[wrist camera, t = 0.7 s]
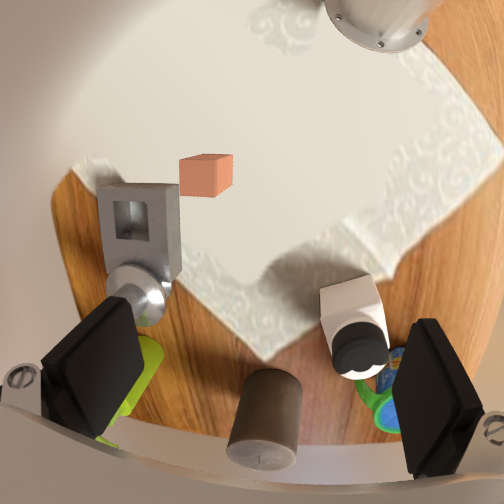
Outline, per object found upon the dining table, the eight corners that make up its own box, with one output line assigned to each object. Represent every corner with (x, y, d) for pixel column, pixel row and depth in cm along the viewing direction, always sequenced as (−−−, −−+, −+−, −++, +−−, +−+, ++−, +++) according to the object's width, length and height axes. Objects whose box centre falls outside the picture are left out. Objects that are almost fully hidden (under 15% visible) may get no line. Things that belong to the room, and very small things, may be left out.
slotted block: (113, 182, 39) (-15, 235, 19) (178, 183, 38) (55, 246, 17) (126, 301, 46) (41, 393, 26) (185, 311, 44) (112, 425, 24)
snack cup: (339, 373, 44) (342, 423, 35) (375, 322, 40) (388, 371, 31) (415, 394, 44) (427, 439, 35) (452, 350, 40) (473, 394, 30)
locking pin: (203, 153, 36) (179, 159, 29) (233, 154, 35) (214, 160, 28) (203, 183, 37) (179, 195, 30) (232, 184, 37) (214, 197, 30)
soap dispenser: (161, 371, 51) (110, 457, 32) (129, 347, 50) (69, 428, 32) (175, 354, 48) (121, 448, 30) (140, 329, 48) (75, 415, 29)
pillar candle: (243, 365, 47) (219, 442, 33) (305, 370, 45) (298, 451, 31) (245, 404, 50) (226, 474, 37) (300, 409, 49) (292, 482, 35)
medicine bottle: (318, 287, 40) (319, 346, 29) (371, 272, 38) (391, 327, 27) (331, 330, 42) (335, 393, 31) (380, 317, 40) (398, 377, 29)
